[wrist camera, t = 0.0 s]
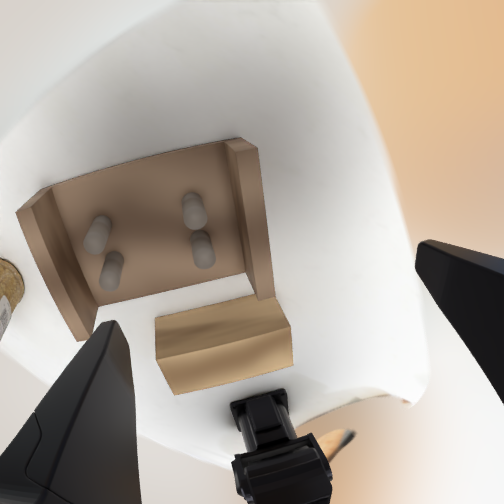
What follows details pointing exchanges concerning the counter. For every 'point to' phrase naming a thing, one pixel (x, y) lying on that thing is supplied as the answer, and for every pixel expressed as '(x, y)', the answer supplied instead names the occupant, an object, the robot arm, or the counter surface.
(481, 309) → the robot arm
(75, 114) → the counter surface
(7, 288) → the sprinkles bottle
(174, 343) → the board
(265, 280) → the peg cradle
